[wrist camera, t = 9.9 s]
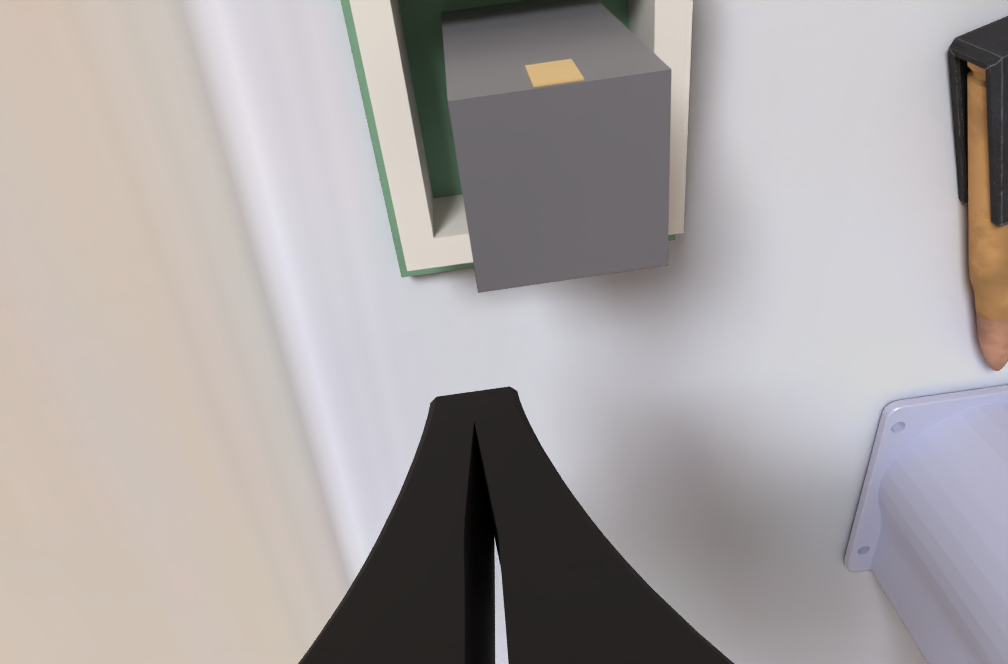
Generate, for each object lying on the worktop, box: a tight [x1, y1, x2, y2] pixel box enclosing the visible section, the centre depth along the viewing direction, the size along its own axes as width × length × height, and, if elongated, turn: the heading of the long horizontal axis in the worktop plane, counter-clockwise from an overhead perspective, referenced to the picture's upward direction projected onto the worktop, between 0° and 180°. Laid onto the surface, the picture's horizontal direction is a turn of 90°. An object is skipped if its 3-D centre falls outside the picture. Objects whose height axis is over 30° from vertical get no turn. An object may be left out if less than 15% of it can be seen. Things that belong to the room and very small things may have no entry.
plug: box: [441, 0, 671, 293], centre depth 15 cm, size 4×4×7 cm
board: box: [341, 0, 693, 277], centre depth 17 cm, size 10×8×3 cm
